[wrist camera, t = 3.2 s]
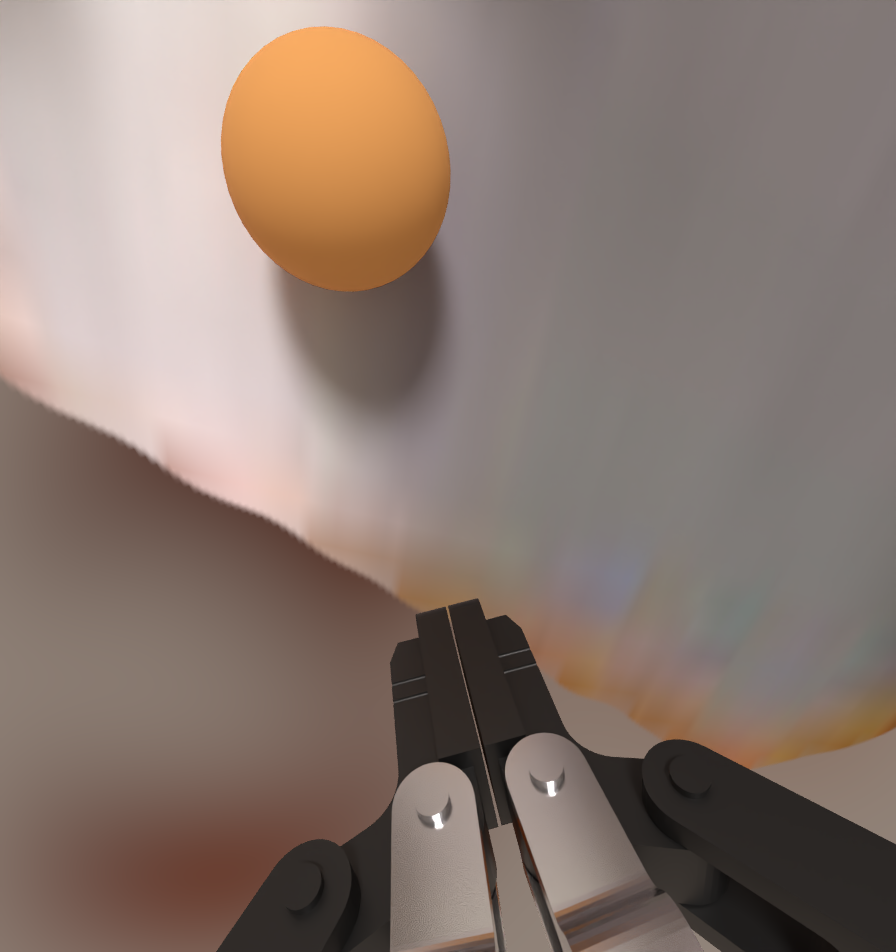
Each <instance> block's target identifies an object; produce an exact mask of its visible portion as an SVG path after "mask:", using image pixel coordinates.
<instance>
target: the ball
mask: <svg viewBox="0 0 896 952" xmlns="http://www.w3.org/2000/svg"><path fill="white" fill-rule="evenodd" d="M221 155H222V162H223V170H224V175H225V179H226V183H227V187H228V191H229V194H230V196H231V199H232V202H233V204H234V207H235V209H236V211H237V213H238V215H239V217H240V219H241V221H242V223H243V225H244V226H245V228H246V229H247V231H248V232H249V234H250V235H251V237H252V238H253V240H254V241H255V242H256V243H257V245H258V246H259V247H260V248H261V249H262V251H263V252H264V253H265V254H266V255H268V256H269V257H270V258H271V259H272V260H273V261H274V262H275V263H276V264H277V265H279V266H280V267H281V268H283V269H284V270H285V271H287V272H288V273H290V274H292V275H293V276H295V277H297V278H298V279H300V280H303V281H305V282H307V283H309V284H312V285H314V286H318V287H321V288H325V289H329V290H335V291H352V292H354V291H363V290H369V289H373V288H376V287H380V286H382V285H385V284H387V283H390V282H392V281H394V280H395V279H397V278H399V277H400V276H402V275H404V274H405V273H406V272H407V271H409V270H410V269H411V268H412V267H414V266H415V264H416V263H417V262H418V261H419V260H420V259H421V258H422V257H423V256H424V255H425V253H426V252H427V250H428V249H429V248H430V246H431V245H432V243H433V241H434V239H435V237H436V236H437V234H438V232H439V229H440V227H441V224H442V222H443V219H444V216H445V212H446V208H447V204H448V198H449V191H450V159H449V151H448V146H447V141H446V136H445V133H444V129H443V126H442V123H441V120H440V117H439V115H438V113H437V110H436V108H435V106H434V103H433V101H432V100H431V98H430V96H429V94H428V93H427V91H426V89H425V88H424V86H423V85H422V83H421V82H420V81H419V79H418V78H417V77H416V75H415V74H414V73H413V72H412V71H411V69H410V68H409V67H408V66H407V65H406V64H405V63H404V62H403V61H402V60H401V59H400V58H399V57H397V56H396V55H395V54H394V53H392V52H391V51H390V50H389V49H388V48H386V47H384V46H383V45H381V44H379V43H378V42H376V41H375V40H373V39H371V38H368V37H366V36H364V35H362V34H359V33H357V32H353V31H349V30H346V29H342V28H334V27H308V28H304V29H300V30H296V31H292V32H290V33H287V34H285V35H283V36H280V37H278V38H276V39H275V40H273V41H272V42H270V43H269V44H267V45H266V46H264V47H263V48H262V49H261V50H260V51H259V52H258V53H256V54H255V55H254V56H253V57H252V58H251V60H250V61H249V62H248V63H247V65H246V66H245V67H244V69H243V70H242V71H241V73H240V75H239V76H238V78H237V80H236V82H235V84H234V85H233V88H232V90H231V93H230V96H229V98H228V101H227V104H226V108H225V113H224V117H223V124H222V134H221Z"/></svg>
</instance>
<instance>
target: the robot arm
mask: <svg viewBox="0 0 896 952" xmlns="http://www.w3.org/2000/svg"><path fill="white" fill-rule="evenodd" d="M448 608H449V612H450V617H451V621H452V625H453V630H454V634H455V639H456V643H457V647H458V652H459V655H460V660H461V665H462V668H463V673H464V677H465V681H466V685H467V689H468V693H469V697H470V701H471V705H472V709H473V713H474V716H475V721H476V725H477V729H478V733H479V737H480V741H481V745H482V749H483V753H484V757H485V761H486V765H487V769H488V773H489V777H490V781H491V785H492V789H493V793H494V796H495V801H496V804H497V809H498V813H499V817H500V820H501V824H502V825H505V824H508V823H513V827H514V830H515V834H516V838H517V842H518V845H519V849H520V853H521V858H522V863H523V868H524V871H525V875H526V878H527V881H528V883H529V887H530V890H531V893H532V896H533V898H534V901H535V904H536V907H537V910H538V913H539V916H540V919H541V922H542V925H543V928H544V931H545V934H546V937H547V940H548V943H549V946H550V949H551V952H704V951H703V949H702V948H701V946H700V944H699V942H698V940H697V939H696V937H695V935H694V933H693V932H692V930H694V931H695V932H696V933H698V934H699V935H700V936H702V937H703V938H704V939H706V940H707V941H708V942H710V943H711V944H712V945H713V946H715V947H716V948H717V949H719V950H720V951H721V952H896V844H894V843H892V842H890V841H888V840H886V839H884V838H882V837H880V836H878V835H877V834H875V833H873V832H871V831H869V830H867V829H865V828H863V827H861V826H859V825H857V824H855V823H853V822H851V821H849V820H847V819H845V818H843V817H841V816H839V815H837V814H835V813H833V812H832V811H830V810H827V809H825V808H824V807H822V806H820V805H818V804H816V803H814V802H812V801H810V800H808V799H806V798H804V797H802V796H800V795H798V794H796V793H794V792H792V791H790V790H788V789H787V788H785V787H783V786H781V785H779V784H777V783H775V782H773V781H771V780H769V779H767V778H765V777H763V776H761V775H759V774H757V773H755V772H753V771H751V770H749V769H747V768H746V767H744V766H742V765H740V764H738V763H736V762H734V761H732V760H730V759H728V758H726V757H724V756H722V755H720V754H718V753H716V752H714V751H712V750H710V749H708V748H706V747H704V746H702V745H700V744H698V743H695V742H691V741H687V740H667V741H663V742H661V743H658V744H657V745H655V746H653V747H652V748H651V749H650V750H649V751H648V753H647V754H646V756H645V758H644V759H638V758H620V757H609V756H604V755H600V754H597V753H594V752H592V751H589V750H588V749H586V748H584V747H582V746H581V745H580V744H578V743H577V742H576V741H575V740H574V739H573V738H572V737H571V736H570V735H569V734H568V732H567V731H566V729H565V727H564V725H563V723H562V721H561V718H560V716H559V714H558V712H557V709H556V707H555V705H554V702H553V700H552V698H551V696H550V693H549V691H548V689H547V686H546V684H545V682H544V679H543V677H542V675H541V672H540V670H539V668H538V666H537V664H536V661H535V659H534V656H533V654H532V652H531V650H530V648H529V645H528V642H527V640H526V638H525V636H524V633H523V631H522V629H521V628H520V627H519V626H518V625H517V624H516V623H515V622H513V621H512V620H511V619H510V618H509V617H508V616H507V615H503V616H499V617H496V618H492V619H488V620H486V619H485V616H484V613H483V610H482V608H481V605H480V602H479V599H478V598H477V599H473V600H469V601H465V602H461V603H457V604H453V605H450V606H448ZM416 621H417V628H418V634H419V638H415V639H412V640H408V641H404V642H400V643H398V644H397V647H396V649H395V652H394V654H393V657H392V660H391V662H390V666H391V680H392V692H393V702H394V718H395V730H396V744H397V755H398V756H397V757H398V770H399V778H398V784H397V788H396V792H395V794H394V797H393V799H392V801H391V803H390V804H389V806H388V808H387V809H386V810H385V812H384V813H383V814H382V816H381V817H380V818H379V819H378V820H377V821H376V822H375V823H374V824H372V825H371V826H369V827H368V828H367V829H365V830H364V831H362V832H361V833H360V834H358V835H357V836H355V837H354V838H353V839H351V840H349V841H348V842H346V843H345V844H343V845H342V846H338V845H337V844H336V843H334V842H331V841H329V840H323V839H317V840H311V841H307V842H305V843H303V844H300V845H299V846H297V847H295V848H294V849H292V850H291V851H290V852H288V853H287V854H286V855H285V856H284V857H283V858H282V859H281V860H280V861H279V862H278V863H277V865H276V866H275V867H274V869H273V870H272V871H271V873H270V875H269V876H268V877H267V879H266V880H265V882H264V883H263V885H262V886H261V887H260V889H259V890H258V892H257V893H256V895H255V896H254V898H253V899H252V901H251V902H250V903H249V905H248V906H247V908H246V909H245V911H244V912H243V914H242V915H241V917H240V918H239V919H238V921H237V922H236V924H235V925H234V927H233V928H232V930H231V931H230V933H229V934H228V935H227V937H226V938H225V940H224V941H223V943H222V944H221V946H220V947H219V948H218V950H217V951H216V952H507V947H506V941H505V934H504V927H503V921H502V915H501V908H500V902H499V895H498V888H497V882H496V878H497V868H496V862H495V857H494V853H493V848H492V844H491V840H490V835H489V831H488V830H489V829H492V828H496V827H498V824H497V819H496V814H495V810H494V806H493V801H492V797H491V793H490V788H489V784H488V779H487V775H486V770H485V766H484V762H483V758H482V753H481V749H480V744H479V740H478V736H477V732H476V728H475V724H474V720H473V716H472V712H471V708H470V704H469V700H468V696H467V692H466V687H465V683H464V679H463V675H462V671H461V667H460V663H459V659H458V656H457V651H456V647H455V643H454V639H453V635H452V631H451V627H450V623H449V619H448V615H447V610H446V607H442V608H438V609H435V610H431V611H427V612H423V613H419V614H416ZM691 929H692V930H691Z"/></svg>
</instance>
